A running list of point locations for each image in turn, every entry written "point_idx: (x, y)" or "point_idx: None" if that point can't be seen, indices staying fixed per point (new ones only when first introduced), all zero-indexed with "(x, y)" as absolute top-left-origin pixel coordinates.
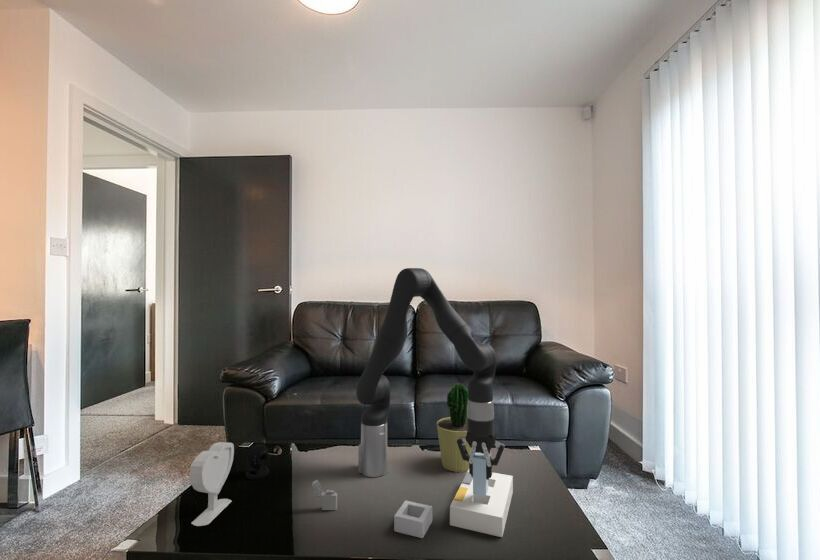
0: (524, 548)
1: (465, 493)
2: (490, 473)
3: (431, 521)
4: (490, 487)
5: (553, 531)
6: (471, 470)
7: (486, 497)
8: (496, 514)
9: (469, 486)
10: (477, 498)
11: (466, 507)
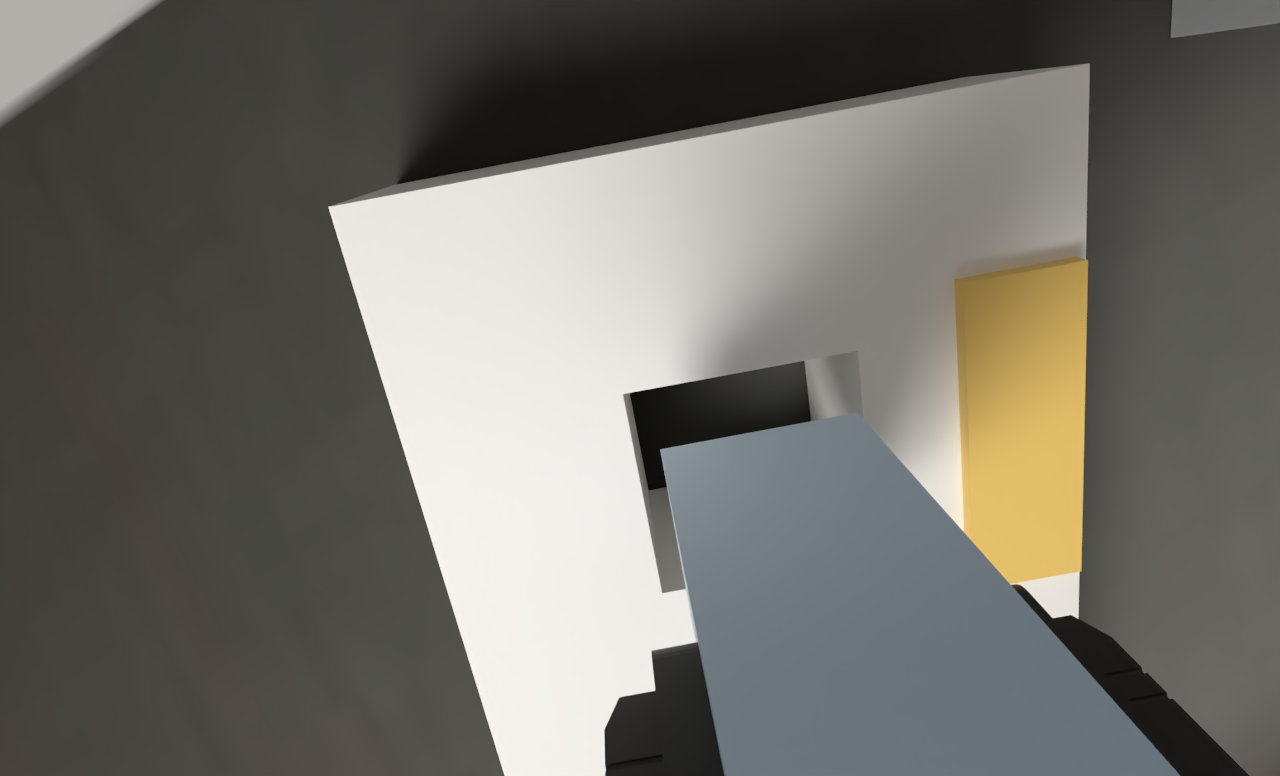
0: (133, 131)
1: (969, 465)
2: (623, 774)
3: (1180, 1)
4: None
5: (42, 540)
6: (1093, 670)
7: None
8: (430, 240)
9: None
10: None
11: (858, 171)
